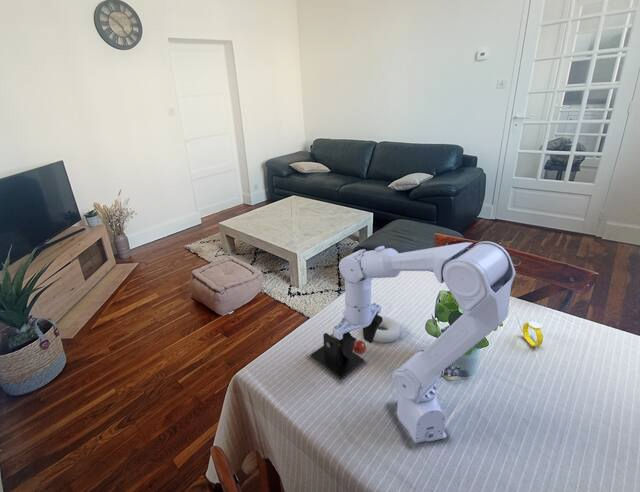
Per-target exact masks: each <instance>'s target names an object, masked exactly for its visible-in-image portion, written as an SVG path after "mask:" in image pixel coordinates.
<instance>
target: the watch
mask: <svg viewBox="0 0 640 492" xmlns="http://www.w3.org/2000/svg"><path fill="white" fill-rule="evenodd" d="M529 328H530V329H532V330H534V332H535V335H536V341H534V340H533V339H532V338H531V336H530V333H529ZM521 329H522V335H523V339H524V340H526V342H527V343H528V344H529V345H530V346H531V347H540V346H542V345H543V342H544V336H543V331H542V324H541V323H539V322H537V321H533V320H530V321H527V322H525V323H524V324H523V326H522V328H521Z"/></svg>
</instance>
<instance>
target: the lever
mask: <svg viewBox="0 0 640 492" xmlns="http://www.w3.org/2000/svg"><path fill="white" fill-rule="evenodd" d="M329 335H330V336H332V337H333V338H335V339H336V337H334V335H333V333H331V334H329ZM336 340H337V339H336ZM337 341H338V340H337ZM339 346H340V344H339V342H338V347H339ZM366 351H367V345H366V343H365V342H364V341H363V340H360V339H359V340H358V339H357V340H356V341H355V343H354V346H353V353H355V354H356V355H363V354H364V353H365V352H366Z"/></svg>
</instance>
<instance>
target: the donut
mask: <svg viewBox="0 0 640 492" xmlns="http://www.w3.org/2000/svg"><path fill="white" fill-rule="evenodd" d="M380 316H381V317H382V318H383V321H382V323H381V324H380V325H379V327H378V329H377V331H376V333H375V336H374V339H373V341H374V342H378V343H382V344H389V343H392V342H395V341H396V340H398V339H399V337H400V335H401V333H402V332H401V327H400V325H399V323H398V322H397V321H396V320H394V319H393V318H391V317H389V316H386V315H385V316H384V315H380ZM379 328H384V329H385V330H383V329H379Z"/></svg>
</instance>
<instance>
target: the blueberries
mask: <svg viewBox="0 0 640 492" xmlns="http://www.w3.org/2000/svg"><path fill="white" fill-rule="evenodd" d="M451 365H452V364H451ZM451 365H450V366H451ZM450 366H448V367H447V368H446V369H445V370H444V374H443V376H442V377H443V378H444V379H445V380H446V381H448V382H450V381H457V380H459V378H458V377H459V376H460V369H461V370H463V371H464V370H465V368H464V369H462V368H457V367H455V368H454V367H452V366H451V367H450Z"/></svg>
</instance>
